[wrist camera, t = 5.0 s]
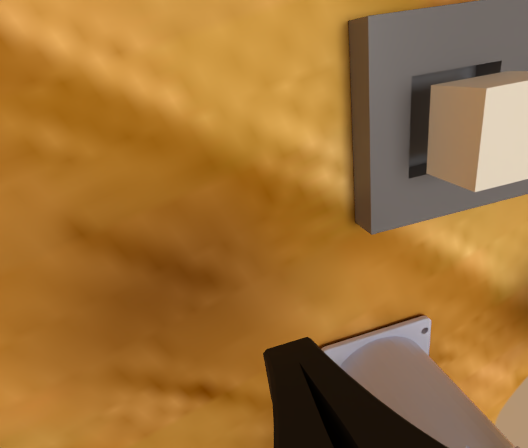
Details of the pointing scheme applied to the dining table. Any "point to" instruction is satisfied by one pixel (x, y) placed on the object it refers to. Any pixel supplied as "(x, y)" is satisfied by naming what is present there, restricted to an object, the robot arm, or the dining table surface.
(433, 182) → the button panel
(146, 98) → the dining table surface
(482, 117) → the cream button
